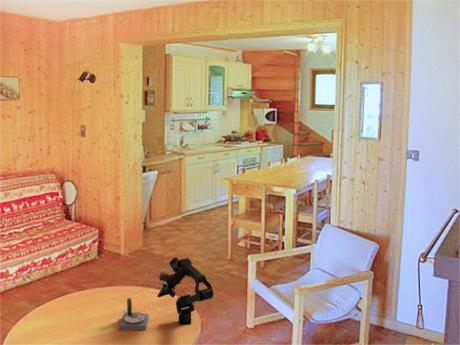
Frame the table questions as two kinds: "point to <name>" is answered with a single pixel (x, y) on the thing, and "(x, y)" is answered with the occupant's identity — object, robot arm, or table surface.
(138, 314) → the grey round part
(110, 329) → the table surface
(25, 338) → the table surface
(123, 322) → the post base
